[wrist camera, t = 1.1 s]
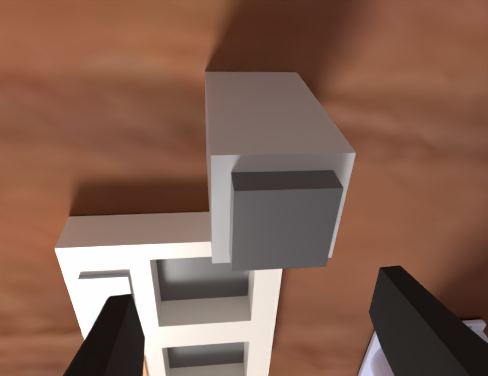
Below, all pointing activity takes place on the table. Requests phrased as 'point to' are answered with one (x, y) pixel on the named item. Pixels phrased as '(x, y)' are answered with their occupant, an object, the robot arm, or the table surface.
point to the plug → (272, 171)
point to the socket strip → (172, 291)
